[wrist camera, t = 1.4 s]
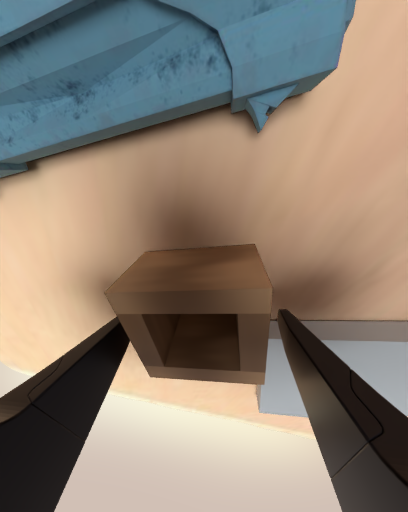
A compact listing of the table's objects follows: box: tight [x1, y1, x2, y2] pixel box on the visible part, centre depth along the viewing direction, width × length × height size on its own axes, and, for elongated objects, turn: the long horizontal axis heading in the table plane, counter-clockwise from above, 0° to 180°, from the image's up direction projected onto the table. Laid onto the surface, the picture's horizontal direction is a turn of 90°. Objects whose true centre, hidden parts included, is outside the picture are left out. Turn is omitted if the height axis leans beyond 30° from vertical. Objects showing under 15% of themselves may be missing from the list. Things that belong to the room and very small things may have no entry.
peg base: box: [257, 321, 408, 417], centre depth 11 cm, size 12×12×6 cm
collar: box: [105, 244, 273, 385], centre depth 10 cm, size 7×7×4 cm
